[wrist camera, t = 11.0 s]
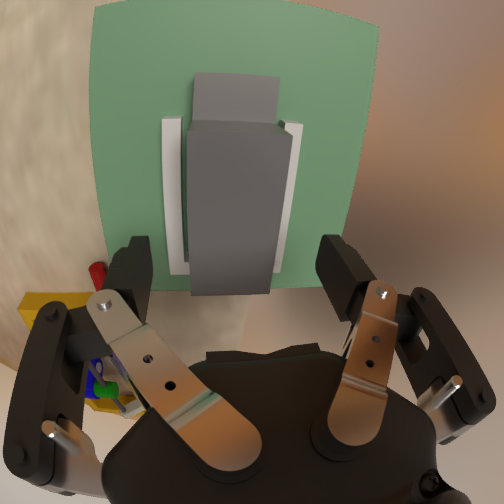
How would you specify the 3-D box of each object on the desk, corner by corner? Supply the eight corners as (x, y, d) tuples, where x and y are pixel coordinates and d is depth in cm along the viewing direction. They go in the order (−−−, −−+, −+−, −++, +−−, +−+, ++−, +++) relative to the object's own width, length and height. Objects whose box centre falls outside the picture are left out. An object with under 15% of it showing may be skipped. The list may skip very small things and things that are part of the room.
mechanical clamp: (101, 301, 19) (172, 434, 36) (119, 254, 24) (172, 401, 41) (-34, 296, 17) (73, 424, 33) (-9, 261, 22) (78, 394, 39)
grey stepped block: (255, 243, 23) (269, 293, 18) (193, 244, 22) (191, 295, 17) (273, 77, 16) (300, 76, 11) (196, 73, 15) (190, 68, 10)
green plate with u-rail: (121, 279, 25) (114, 301, 23) (102, 10, 12) (87, 2, 9) (321, 276, 28) (331, 296, 26) (368, 28, 15) (389, 24, 12)
